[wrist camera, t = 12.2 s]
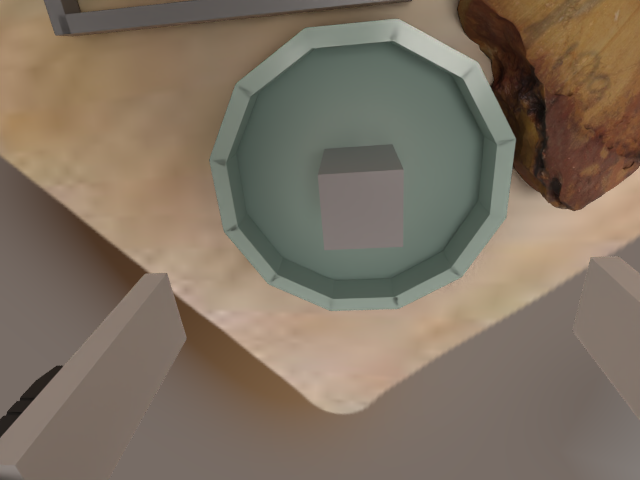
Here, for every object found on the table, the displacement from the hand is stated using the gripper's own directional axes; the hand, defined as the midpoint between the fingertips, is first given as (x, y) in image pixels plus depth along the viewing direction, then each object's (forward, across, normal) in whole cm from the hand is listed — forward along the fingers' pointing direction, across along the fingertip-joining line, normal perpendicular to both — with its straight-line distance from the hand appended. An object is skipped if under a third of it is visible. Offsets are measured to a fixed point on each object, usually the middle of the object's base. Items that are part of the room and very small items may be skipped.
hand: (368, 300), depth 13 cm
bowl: (+16, 0, -1) cm, 16 cm away
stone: (+17, +12, +6) cm, 22 cm away
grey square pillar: (+15, 0, -1) cm, 15 cm away
